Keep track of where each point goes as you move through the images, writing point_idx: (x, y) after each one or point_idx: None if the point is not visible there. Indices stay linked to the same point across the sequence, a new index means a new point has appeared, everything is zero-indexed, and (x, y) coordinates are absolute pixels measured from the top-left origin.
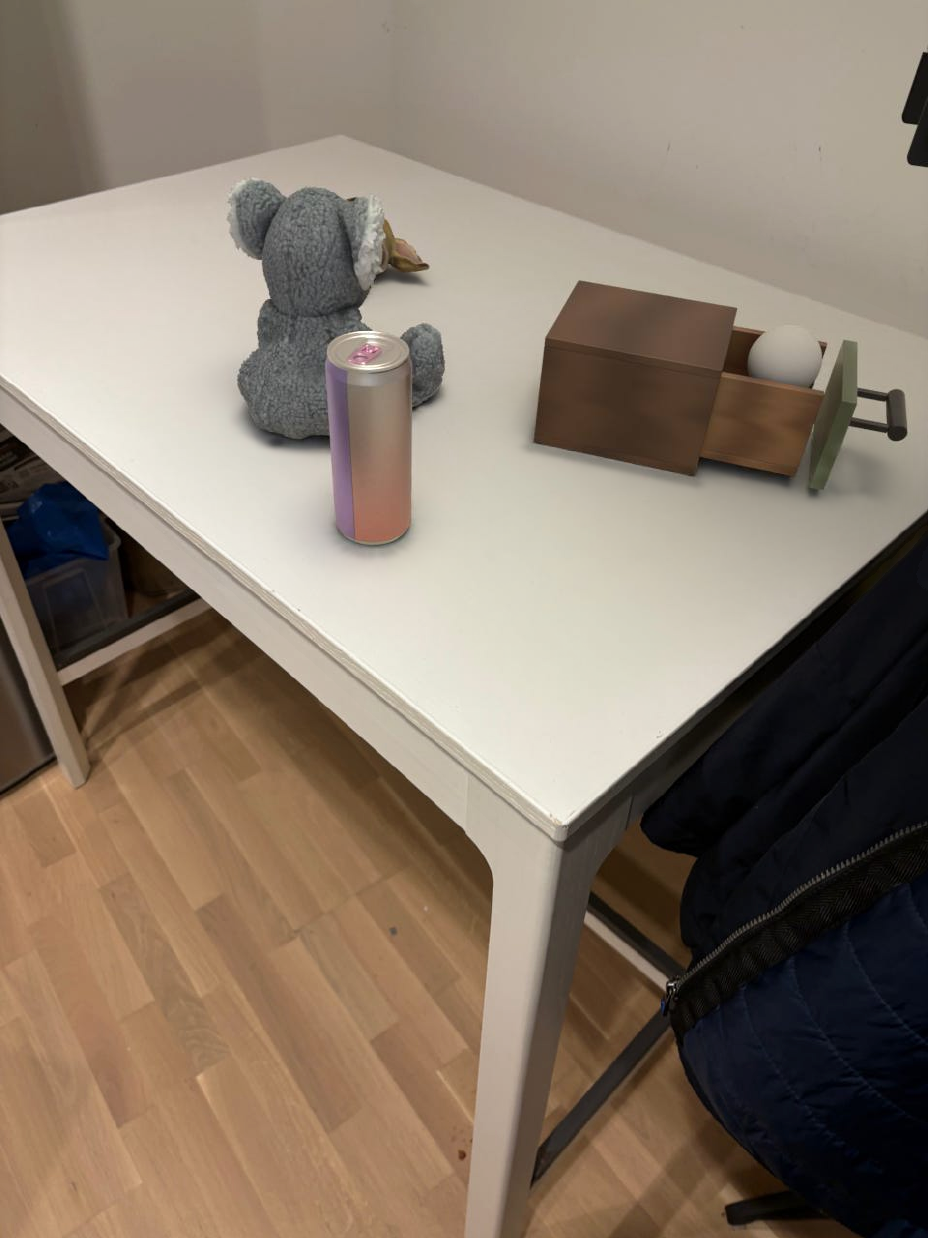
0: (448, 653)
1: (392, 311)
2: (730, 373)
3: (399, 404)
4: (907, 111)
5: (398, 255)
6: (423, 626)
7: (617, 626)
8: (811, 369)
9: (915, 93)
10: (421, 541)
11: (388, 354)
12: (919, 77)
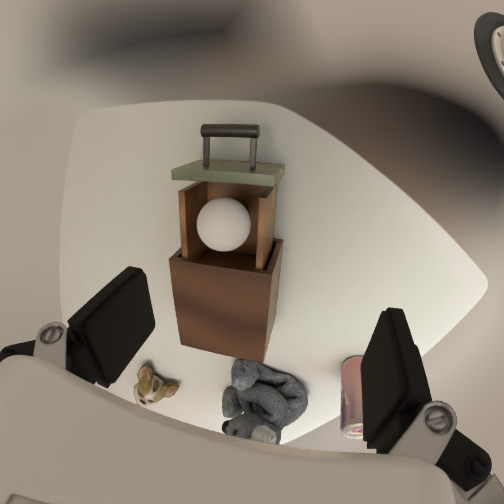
0: (428, 329)
1: (181, 371)
2: (256, 262)
3: None
4: (150, 333)
5: (149, 376)
6: (414, 339)
7: (416, 275)
8: (239, 209)
9: (136, 347)
10: (365, 349)
11: (361, 427)
12: (125, 363)
